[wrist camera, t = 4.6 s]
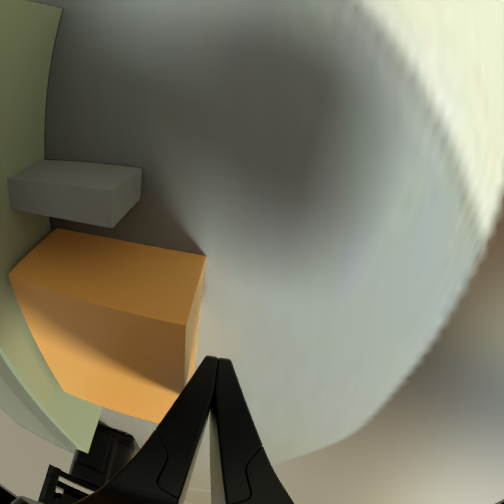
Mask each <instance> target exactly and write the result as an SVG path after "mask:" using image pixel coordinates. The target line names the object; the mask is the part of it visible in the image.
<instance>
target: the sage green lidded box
mask: <svg viewBox="0 0 504 504" xmlns="http://www.w3.org/2000/svg"><path fill="white" fill-rule="evenodd" d="M62 10H63V8H59V7H55V6H50V5H46V4H41V3H36V2H31V1H25V0H0V408H1V409H2V410H3V411H4V412H5V413H6V414H7V415H8V416H9V417H10V418H11V419H12V420H13V421H15V422H16V423H17V424H18V425H20V426H22V427H23V428H25V429H27V430H28V431H30V432H32V433H34V434H35V435H37V436H39V437H41V438H43V439H45V440H47V441H49V442H50V443H52V444H54V445H56V446H58V447H60V448H63V449H65V450H67V451H69V452H71V453H74V454H75V451H76V449H78V450H81V451H83V452H85V453H88V452H89V449H90V445H91V442H92V439H93V436H94V433H95V430H96V427H97V424H98V421H99V418H100V415H101V412H102V409H103V407H102V406H99V405H96V404H94V403H91V402H88V401H86V400H83V399H81V398H78V397H76V396H73V395H71V394H68V393H66V392H64V390H63V389H62V387H61V386H60V384H59V383H58V381H57V379H56V378H55V376H54V374H53V373H52V371H51V369H50V367H49V366H48V364H47V362H46V360H45V359H44V357H43V355H42V353H41V351H40V349H39V347H38V345H37V343H36V341H35V339H34V337H33V335H32V333H31V331H30V329H29V327H28V325H27V322H26V320H25V318H24V316H23V313H22V311H21V309H20V306H19V304H18V301H17V299H16V296H15V293H14V291H13V288H12V285H11V282H10V280H9V277H8V274H9V273H10V272H11V271H12V270H13V269H14V268H15V267H16V265H17V264H18V263H19V262H20V261H21V260H22V259H23V258H24V257H26V256H27V255H28V254H29V253H30V252H31V251H32V250H33V249H34V248H35V247H36V246H37V245H38V244H39V243H40V242H41V241H42V240H44V239H45V238H46V237H47V236H48V235H49V234H50V233H51V226H50V219H49V217H55V218H60V219H65V220H70V221H76V222H81V223H86V224H91V225H97V226H102V227H107V228H113V227H114V226H115V225H116V224H117V223H118V222H119V221H120V220H121V219H122V218H123V217H124V216H125V215H126V213H127V212H128V211H129V210H130V209H131V208H132V207H133V206H134V205H135V204H136V203H137V202H138V201H139V200H140V199H141V181H142V168H137V167H129V166H120V165H110V164H100V163H89V162H77V161H63V160H46V159H45V156H44V131H45V109H46V96H47V86H48V78H49V71H50V64H51V58H52V52H53V47H54V42H55V38H56V33H57V29H58V25H59V21H60V17H61V13H62Z"/></svg>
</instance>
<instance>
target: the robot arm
mask: <svg viewBox="0 0 504 504" xmlns="http://www.w3.org/2000/svg"><path fill="white" fill-rule="evenodd" d="M209 412H210V474H211V502H212V504H294V502H293V501H292V499H291V498H290V496H289V495H288V493H287V492H286V490H285V489H284V487H283V485H282V484H281V482H280V480H279V479H278V477H277V475H276V473H275V472H274V470H273V468H272V466H271V463H270V461H269V459H268V457H267V455H266V452H265V450H264V447H262V443H261V440H260V438H259V435H258V432H257V430H256V427H255V425H254V422H253V420H252V417H251V414H250V412H249V409H248V406H247V404H246V401H245V398H244V395H243V393H242V390H241V387H240V384H239V382H238V379H237V376H236V373H235V370H234V367H233V364H232V362H231V360H230V359H225V358H219V359H218V358H217V357H214V356H206V357H205V358H204V360H203V361H202V362H201V364H200V365H199V367H198V368H197V370H196V371H195V373H194V374H193V376H192V377H191V379H190V380H189V382H188V383H187V384H186V386H185V387H184V389H183V390H182V392H181V393H180V395H179V396H178V398H177V399H176V400H175V402H174V403H173V405H172V406H171V408H170V409H169V410H168V412H167V413H166V415H165V416H164V418H163V419H162V420H161V422H160V423H159V425H158V426H157V428H156V430H154V432H153V433H152V434H151V436H150V437H149V439H148V440H147V441H146V442H145V444H144V445H143V446H142V448H141V449H139V447H138V445H137V443H136V441H135V440H134V439H133V438H131V437H129V436H125V435H122V434H119V433H116V432H113V431H110V430H107V429H104V428H101V427H99V426H97V427H96V430H95V433H94V436H93V439H92V442H91V445H90V449H89V452H88V453H85V452H83V451H81V450H78V449H76V451H75V454H74V457H73V461H72V464H71V467H70V471H69V474H67V473H65V472H63V471H61V469H59V468H57V467H54V466H52V465H49V468H48V471H47V474H46V478H45V481H44V484H43V487H42V490H41V493H40V497H39V500H38V501H35V500H32V499H29V498H26V497H24V496H19V497H18V496H16V495H15V494H13V493H12V492H11V491H9V490H8V489H6V488H5V487H3V486H2V485H1V484H0V504H183V503H184V500H185V496H186V493H187V489H188V486H189V482H190V479H191V476H192V472H193V469H194V465H195V462H196V458H197V455H198V451H199V448H200V445H201V441H202V438H203V434H204V431H205V427H206V424H207V420H208V417H209ZM133 456H134V457H133ZM59 477H61V478H63V479H65V480H67V481H69V482H72V483H74V484H76V485H78V486H80V487H83V488H85V489H87V490H90V491H92V492H94V493H92V494H90V495H89V494H87V493H84V492H82V491H80V490H78V489H75V488H73V487H71V486H69V485H67V484H64V483H63V482H60V481H59ZM56 488H57V489H60V490H62V491H63V493H62V494H61V493H56V492H55V491H56ZM496 504H504V500H502V501H500V502H498V503H496Z"/></svg>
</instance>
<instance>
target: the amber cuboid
mask: <svg viewBox="0 0 504 504" xmlns="http://www.w3.org/2000/svg"><path fill="white" fill-rule="evenodd" d="M205 263H206V256H204V255H198V254H193V253H187V252H182V251H176V250H171V249H165V248H160V247H154V246H149V245H144V244H138V243H133V242H128V241H122V240H117V239H112V238H107V237H102V236H96V235H91V234H86V233H81V232H76V231H71V230H66V229H61V228H56V229H55V230H54V231H52V232H51V233H50V234H49V235H48V236H47V237H46V238H45V239H44V240H42V241H41V242H40V243H39V244H38V245H37V246H36V247H35V248H34V249H33V250H32V251H31V252H30V253H29V254H28V255H27V256H26V257H24V258H23V259H22V260H21V261H20V262H19V263H18V264H17V265H16V267H15V268H14V269H13V270H12V271H11V272H10V273H9V274H8V277H9V280H10V282H11V285H12V288H13V291H14V293H15V296H16V299H17V301H18V304H19V306H20V309H21V311H22V313H23V316H24V318H25V320H26V322H27V325H28V327H29V329H30V331H31V333H32V335H33V337H34V339H35V341H36V343H37V345H38V347H39V349H40V351H41V353H42V355H43V357H44V359H45V360H46V362H47V364H48V366H49V367H50V369H51V371H52V373H53V374H54V376H55V378H56V379H57V381H58V383H59V384H60V386H61V387H62V389H63V390H64V392H66V393H68V394H71V395H73V396H76V397H78V398H81V399H83V400H86V401H88V402H91V403H94V404H96V405H99V406H102V407H105V408H108V409H111V410H114V411H117V412H120V413H123V414H127V415H130V416H133V417H137V418H140V419H144V420H148V421H152V422H156V423H160V422H161V420H162V419H163V418H164V416H165V415H166V413H167V412H168V410H169V409H170V408H171V406H172V405H173V403H174V402H175V400H176V399H177V398H178V396H179V395H180V393H181V392H182V390H183V389H184V387H185V386H186V384H187V383H188V382H189V380H190V379H191V377H192V376H193V374H194V373H195V364H196V351H197V340H198V329H199V318H200V308H201V298H202V289H203V280H204V272H205Z"/></svg>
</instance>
